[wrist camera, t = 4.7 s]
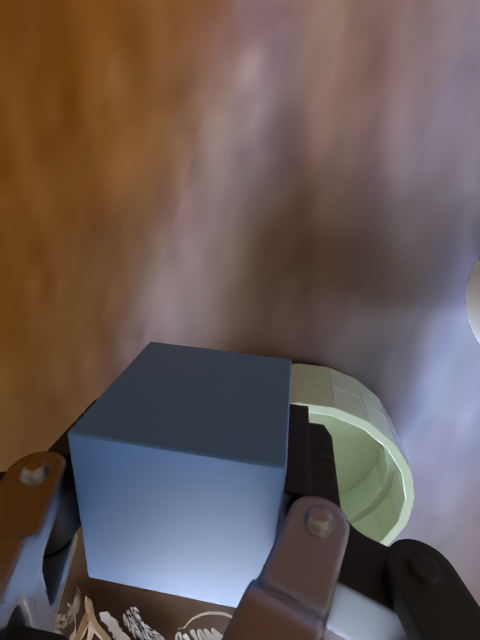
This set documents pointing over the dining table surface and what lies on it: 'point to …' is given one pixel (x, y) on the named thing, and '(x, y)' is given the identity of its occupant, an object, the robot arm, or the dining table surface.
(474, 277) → the sauce bottle
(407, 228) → the dining table surface
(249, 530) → the blue cube
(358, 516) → the bowl
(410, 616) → the robot arm
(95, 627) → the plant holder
